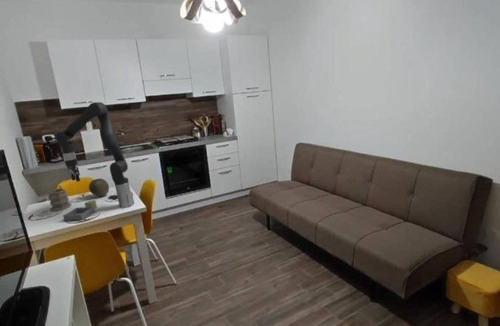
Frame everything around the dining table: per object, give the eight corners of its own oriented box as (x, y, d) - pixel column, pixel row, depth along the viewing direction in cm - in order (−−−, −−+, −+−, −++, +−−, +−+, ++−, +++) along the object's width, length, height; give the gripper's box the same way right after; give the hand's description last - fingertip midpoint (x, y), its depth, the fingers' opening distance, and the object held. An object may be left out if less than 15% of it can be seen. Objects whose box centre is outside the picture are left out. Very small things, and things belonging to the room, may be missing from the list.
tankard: (68, 209, 225) (63, 190, 222) (49, 212, 222) (44, 193, 218) (74, 200, 244) (70, 183, 240) (57, 203, 240) (52, 186, 237)
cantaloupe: (107, 192, 258) (103, 175, 254) (112, 195, 248) (108, 177, 244) (89, 197, 249) (85, 180, 245) (94, 200, 239) (90, 182, 235)
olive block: (97, 207, 222) (95, 200, 220) (92, 210, 217) (91, 202, 216) (90, 208, 223) (89, 200, 221) (86, 210, 218) (84, 203, 216)
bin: (94, 212, 213) (93, 207, 212) (82, 220, 200) (80, 214, 199) (77, 213, 215) (76, 207, 214) (64, 221, 202) (62, 215, 201)
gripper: (79, 158, 211) (85, 180, 215) (72, 157, 221) (78, 178, 224) (68, 160, 206) (74, 183, 209) (61, 159, 215) (67, 181, 219)
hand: (76, 180), depth 217 cm, fingers open, 8 cm apart
